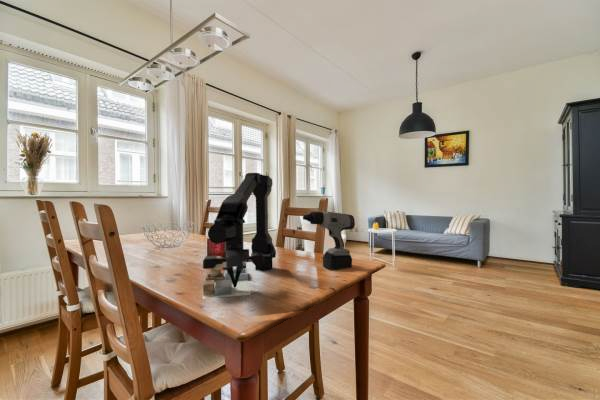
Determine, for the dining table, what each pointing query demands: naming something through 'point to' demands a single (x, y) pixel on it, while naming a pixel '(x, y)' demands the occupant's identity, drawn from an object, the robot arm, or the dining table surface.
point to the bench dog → (208, 287)
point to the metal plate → (223, 287)
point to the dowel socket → (215, 277)
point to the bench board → (233, 290)
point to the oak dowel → (216, 270)
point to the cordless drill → (334, 237)
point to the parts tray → (242, 276)
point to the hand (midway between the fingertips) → (234, 286)
